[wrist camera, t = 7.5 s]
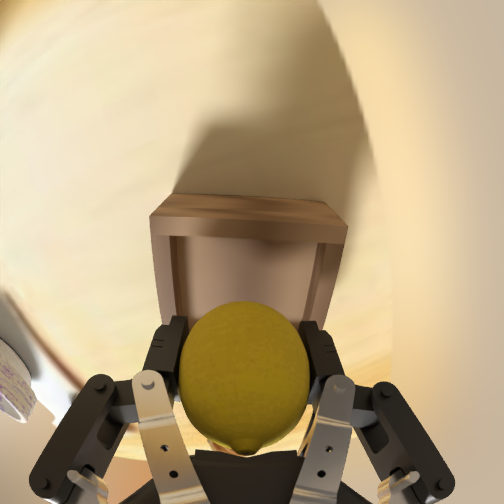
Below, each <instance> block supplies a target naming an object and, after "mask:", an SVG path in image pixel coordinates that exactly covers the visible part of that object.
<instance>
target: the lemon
mask: <svg viewBox="0 0 504 504" xmlns="http://www.w3.org/2000/svg"><path fill="white" fill-rule="evenodd" d="M178 381H179V392H180V397H181V402H182V405H183V407H184V410H185V413H186V415H187V417H188V419H189V420H190V422H191V423H192V425H193V426H194V427H195V428H196V429H197V430H198V431H199V432H200V433H201V434H202V435H204V436H205V437H206V438H207V439H209V440H211V441H212V442H214V443H216V444H218V445H220V446H223V447H226V448H229V449H232V450H233V451H234V452H235V453H237V454H238V455H242V456H249V455H254V454H255V453H256V452H257V451H258V450H259V449H261V448H264V447H267V446H270V445H272V444H274V443H276V442H278V441H279V440H281V439H282V438H284V437H285V436H286V435H287V434H288V433H289V432H291V431H292V430H293V429H294V428H295V426H296V425H297V424H298V422H299V421H300V419H301V417H302V415H303V413H304V411H305V409H306V406H307V403H308V397H309V388H310V368H309V361H308V356H307V352H306V350H305V347H304V345H303V343H302V340H301V338H300V336H299V334H298V332H297V330H296V329H295V328H294V326H293V325H292V324H291V323H290V322H289V321H288V320H287V319H286V317H284V316H283V315H282V314H281V313H279V312H278V311H276V310H274V309H273V308H271V307H269V306H267V305H264V304H261V303H258V302H250V301H236V302H230V303H226V304H223V305H220V306H218V307H216V308H214V309H213V310H211V311H209V312H207V313H206V314H205V315H204V316H203V317H202V318H201V319H200V320H199V321H198V322H197V323H196V324H195V325H194V326H193V328H192V329H191V331H190V333H189V335H188V337H187V339H186V341H185V343H184V346H183V348H182V352H181V356H180V363H179V377H178Z"/></svg>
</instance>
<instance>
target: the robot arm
mask: <svg viewBox="0 0 504 504" xmlns="http://www.w3.org/2000/svg"><path fill="white" fill-rule="evenodd" d="M298 334H299V336H300V338H301V340H302V343H303V345H304V347H305V350H306V352H307V356H308V361H309V368H310V388H309V397H308V403H307V405H308V404H312V406H313V411H312V413H311V416H310V420H309V423H308V426H307V429H306V432H305V435H304V438H303V441H302V444H301V446H300V448H299V451H298V453H297V450H291V451H275V452H269V453H265V454H261V455H257V456H252V457H241V456H237V455H233V454H229V453H225V452H221V451H208V450H196V449H195V455H190V456H189V455H188V452H187V450H186V447H185V444H184V442H183V439H182V436H181V434H180V431H179V428H178V425H177V422H176V419H175V416H174V413H173V404H174V401H178V402H180V400H181V397H180V392H179V381H178V377H179V363H180V356H181V352H182V348H183V346H184V343H185V341H186V339H187V337H188V335H189V325H188V317H187V316H177V315H172V317H171V321H170V324H169V325H163V324H162V325H161V326H160V327H159V328H158V329H157V330H156V331H155V334H154V336H153V340H152V342H151V347H150V348H149V351H148V354H147V357H146V360H145V363H144V366H143V369H142V371H141V372H139V373H137V374H136V375H135V376H134V377H133V379H130V380H125V381H115V382H114V381H113V379H112V378H111V377H109V376H108V375H105V374H98V375H95V376H93V377H91V378H90V379H89V380H88V381H87V383H86V384H85V386H84V387H83V389H82V390H81V392H80V393H79V395H78V396H77V398H76V399H75V401H74V402H73V404H72V405H71V407H70V408H69V410H68V411H67V413H66V414H65V416H64V418H63V419H62V421H61V422H60V424H59V425H58V427H57V429H56V430H55V432H54V434H53V435H52V437H51V439H50V440H49V442H48V443H47V445H46V447H45V449H44V450H43V452H42V454H41V455H40V457H39V459H38V461H37V462H36V464H35V466H34V468H33V469H32V471H31V474H30V476H29V484H30V487H31V489H32V490H33V492H35V494H36V495H37V496H39V497H41V498H43V499H45V500H47V501H48V502H50V503H51V504H108V502H107V497H108V486H107V484H106V483H105V481H104V480H103V477H104V475H105V473H106V470H107V468H108V466H109V464H110V462H111V460H112V458H113V456H114V454H115V452H116V450H117V448H118V446H119V444H120V442H121V440H122V438H123V436H124V434H125V432H126V430H127V428H128V426H129V424H130V423H135V422H139V423H138V426H139V431H140V435H141V439H142V443H143V447H144V450H145V454H146V457H147V461H148V464H149V467H150V470H151V474H152V476H153V478H152V479H151V480H150V481H148V482H147V483H146V484H145V485H143V486H142V487H141V488H140V489H138V490H137V491H136V492H135V493H133V494H132V495H130V496H129V497H128V498H126V499H125V500H123V501H122V502H121V503H119V504H372V503H371V502H369V501H368V500H366V499H365V498H364V497H362V496H361V495H359V494H358V493H357V492H355V491H354V490H353V489H351V488H350V487H349V486H347V485H346V484H345V483H343V482H342V481H341V477H342V474H343V470H344V466H345V462H346V457H347V453H348V448H349V444H350V439H351V434H352V427H353V428H354V430H355V432H356V434H357V436H358V438H359V440H360V441H361V443H362V445H363V447H364V449H365V451H366V453H367V455H368V457H369V459H370V461H371V463H372V465H373V467H374V469H375V471H376V472H377V474H378V476H379V478H380V480H381V483H380V485H379V487H378V490H377V492H378V498H379V504H434V503H436V502H438V501H440V500H442V499H444V498H446V497H448V496H449V495H450V494H451V493H452V492H453V490H454V487H455V479H454V476H453V475H452V473H451V471H450V469H449V468H448V466H447V464H446V463H445V461H444V460H443V458H442V456H441V455H440V453H439V451H438V450H437V448H436V447H435V445H434V443H433V442H432V440H431V439H430V437H429V436H428V434H427V433H426V431H425V430H424V428H423V426H422V425H421V423H420V422H419V420H418V419H417V417H416V416H415V415H414V413H413V411H412V410H411V408H410V407H409V405H408V404H407V402H406V401H405V399H404V398H403V396H402V395H401V393H400V392H399V390H398V389H397V388H396V387H395V386H394V385H393V384H391V383H389V382H379V383H377V384H375V385H374V387H373V388H370V387H363V386H358V385H355V384H354V382H353V381H352V380H351V379H350V378H349V377H347V376H345V373H344V371H343V368H342V365H341V362H340V359H339V356H338V353H337V350H336V348H335V346H334V342H333V339H332V337H331V336H330V335H329V334H328V333H327V332H326V330H319V328H318V325H317V322H316V321H300V324H299V329H298Z"/></svg>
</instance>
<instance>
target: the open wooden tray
mask: <svg viewBox="0 0 504 504" xmlns="http://www.w3.org/2000/svg"><path fill="white" fill-rule="evenodd" d="M149 219H150V232H151V243H152V253H153V263H154V271H155V279H156V287H157V294H158V300H159V307H160V313H161V319H162V324H163V325H169V324H170V321H171V317H172V315H177V316H187V317H188V325H189V333H190V331H191V329H192V328H193V326H194V325H195V324H196V323H197V322H198V321H199V320H200V319H201V318H202V317H203V316H204V315H205V314H206V313H207V312H209V311H211V310H213V309H214V308H216V307H218V306H220V305H223V304H226V303H230V302H236V301H250V302H258V303H261V304H264V305H267V306H269V307H271V308H273V309H274V310H276V311H278V312H279V313H281V314H282V315H283V316H284V317H286V319H287V320H288V321H289V322H290V323H291V324H292V325H293V326H294V328H295V329H296V330H297V332H298V329H299V324H300V321H316V322H317V325H318V328H319V330H322V329H323V326H324V323H325V319H326V316H327V312H328V308H329V305H330V301H331V297H332V294H333V290H334V286H335V282H336V278H337V274H338V270H339V266H340V261H341V257H342V252H343V248H344V243H345V239H346V234H347V229H348V226H347V225H346V224H345V223H344V222H343V221H342V220H341V219H340V217H339V216H338V215H337V214H336V213H335V212H334V211H333V210H332V209H331V208H330V207H329V206H328V205H327V204H326V203H325V202H319V201H308V200H296V199H283V198H268V197H252V196H232V195H206V194H171V195H170V196H169V197H168V198H167V199H166V200H165V201H164V202H163V203H162V204H161V205H160V206H159V207H158V208H157V209H156V210H155V211H154V212H153V213H152V214H151V215H150V216H149Z"/></svg>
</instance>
